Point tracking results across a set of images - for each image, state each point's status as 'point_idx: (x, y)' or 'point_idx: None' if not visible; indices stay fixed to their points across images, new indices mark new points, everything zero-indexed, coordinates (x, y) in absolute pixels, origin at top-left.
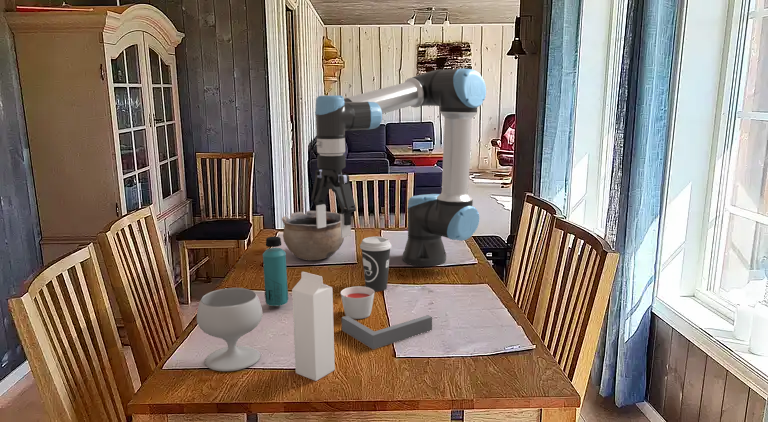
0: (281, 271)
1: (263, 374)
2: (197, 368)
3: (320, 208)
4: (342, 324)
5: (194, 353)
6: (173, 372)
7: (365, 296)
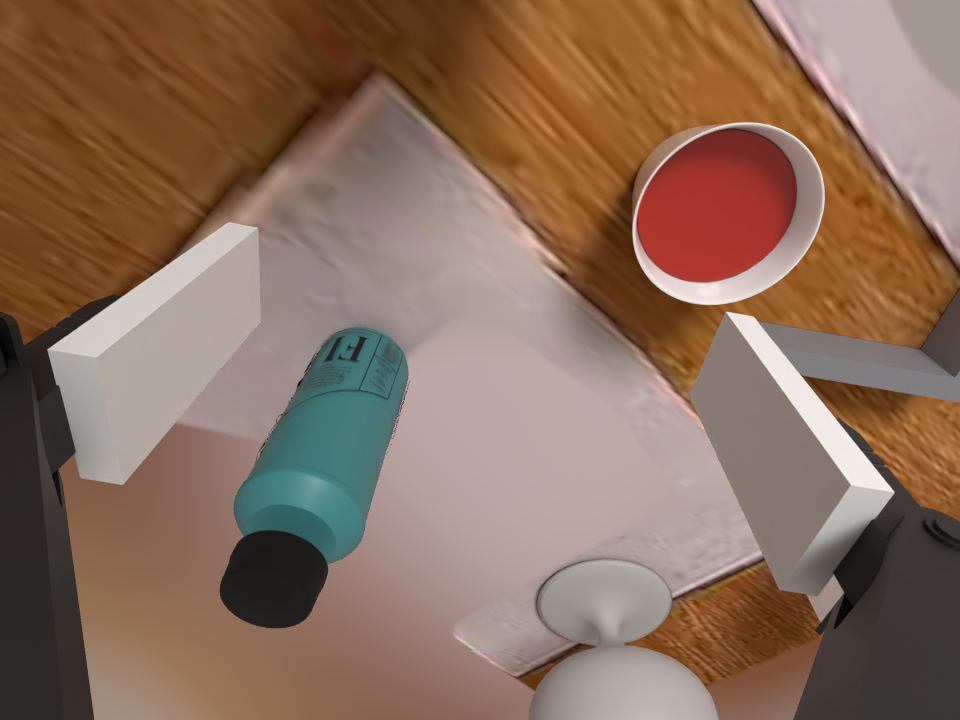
0: (380, 461)
1: (723, 599)
2: (573, 648)
3: (144, 413)
4: None
5: (500, 625)
6: None
7: (734, 161)
